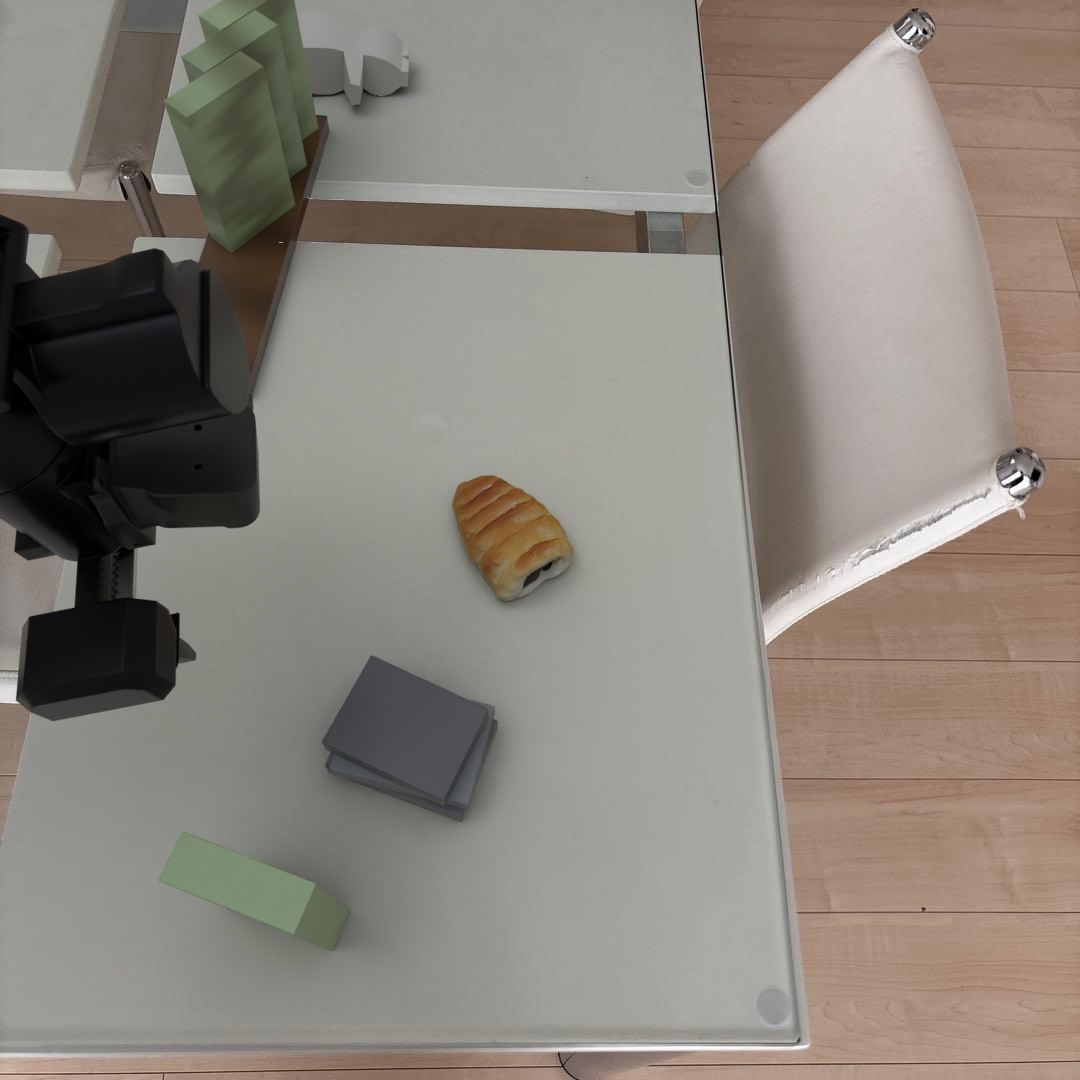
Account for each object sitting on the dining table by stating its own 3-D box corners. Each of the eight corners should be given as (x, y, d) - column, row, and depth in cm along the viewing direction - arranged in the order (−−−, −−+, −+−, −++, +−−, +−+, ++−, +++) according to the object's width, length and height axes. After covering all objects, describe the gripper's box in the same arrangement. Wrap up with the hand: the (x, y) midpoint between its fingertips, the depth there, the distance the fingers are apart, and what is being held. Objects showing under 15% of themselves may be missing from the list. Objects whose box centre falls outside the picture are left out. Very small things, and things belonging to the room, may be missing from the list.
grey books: (325, 776, 60) (312, 757, 56) (371, 676, 63) (363, 649, 59) (463, 829, 59) (462, 814, 55) (503, 724, 62) (505, 701, 58)
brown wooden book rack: (251, 399, 72) (200, 265, 59) (164, 388, 72) (94, 252, 59) (329, 129, 85) (302, -30, 72) (255, 120, 85) (214, -40, 72)
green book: (224, 907, 57) (157, 880, 45) (243, 867, 58) (182, 830, 46) (333, 951, 56) (294, 935, 44) (350, 909, 57) (316, 883, 45)
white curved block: (408, 78, 83) (227, 56, 80) (405, 126, 87) (234, 107, 85) (410, 6, 87) (239, -17, 84) (408, 56, 92) (244, 35, 89)
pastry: (428, 514, 69) (426, 488, 65) (505, 468, 71) (506, 440, 68) (505, 613, 66) (507, 591, 62) (583, 562, 68) (588, 538, 64)
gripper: (198, 610, 34) (341, 718, 48) (200, 216, 42) (322, 407, 56) (-98, 668, 35) (128, 758, 49) (-41, 269, 43) (140, 445, 57)
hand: (188, 579), depth 52 cm, fingers open, 9 cm apart
